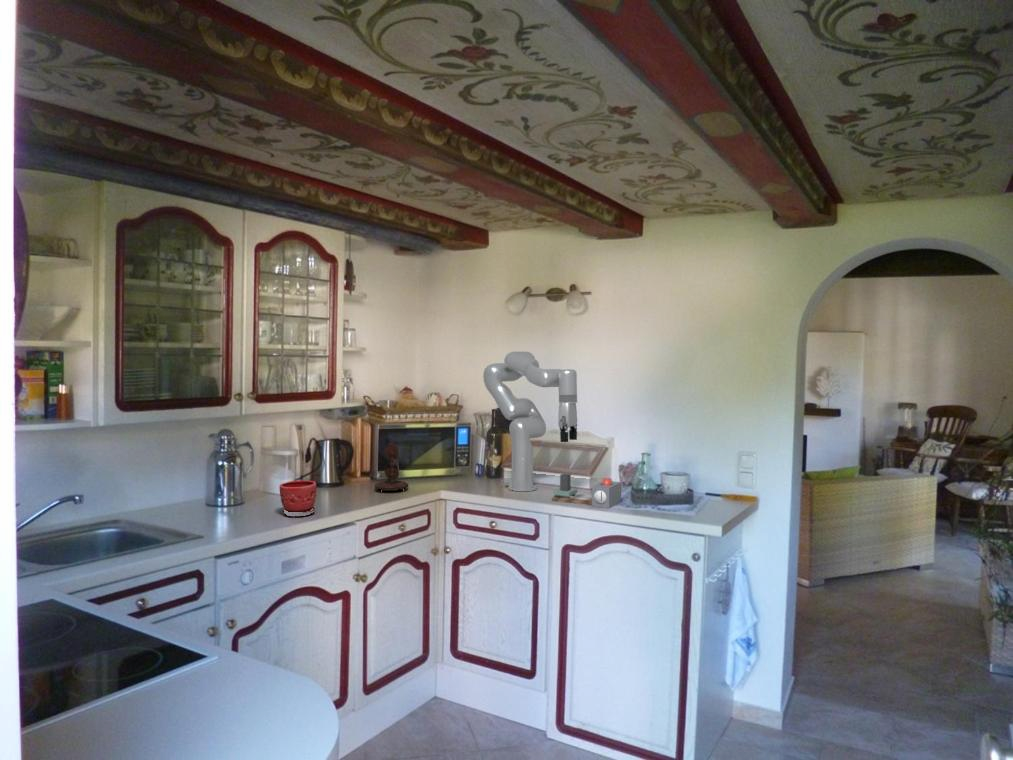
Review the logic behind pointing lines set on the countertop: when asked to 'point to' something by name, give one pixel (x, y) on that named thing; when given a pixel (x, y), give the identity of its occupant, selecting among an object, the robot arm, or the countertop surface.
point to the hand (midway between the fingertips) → (568, 440)
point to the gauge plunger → (606, 481)
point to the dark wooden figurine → (391, 471)
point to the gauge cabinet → (606, 495)
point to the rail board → (574, 499)
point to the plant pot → (298, 495)
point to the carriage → (565, 486)
